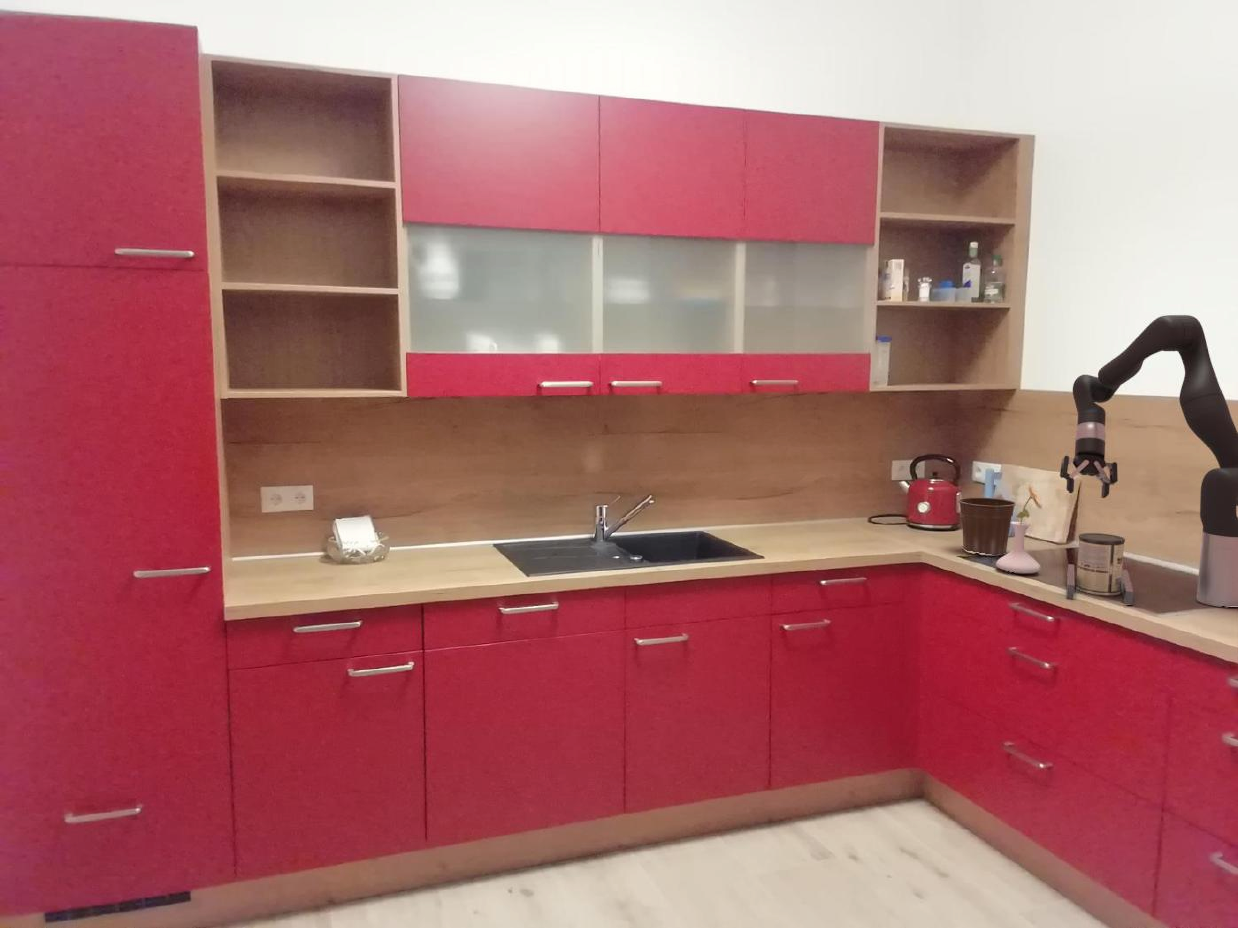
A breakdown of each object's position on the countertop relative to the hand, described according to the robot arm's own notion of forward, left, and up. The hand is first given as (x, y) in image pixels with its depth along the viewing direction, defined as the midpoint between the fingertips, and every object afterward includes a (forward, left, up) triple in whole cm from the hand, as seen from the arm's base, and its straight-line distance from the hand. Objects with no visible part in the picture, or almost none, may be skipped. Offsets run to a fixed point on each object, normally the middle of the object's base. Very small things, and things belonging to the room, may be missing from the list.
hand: (1087, 494), depth 242 cm
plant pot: (+27, -12, -22) cm, 36 cm away
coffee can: (-3, +23, -22) cm, 32 cm away
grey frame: (-3, +23, -22) cm, 32 cm away
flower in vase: (+16, +10, -22) cm, 29 cm away
